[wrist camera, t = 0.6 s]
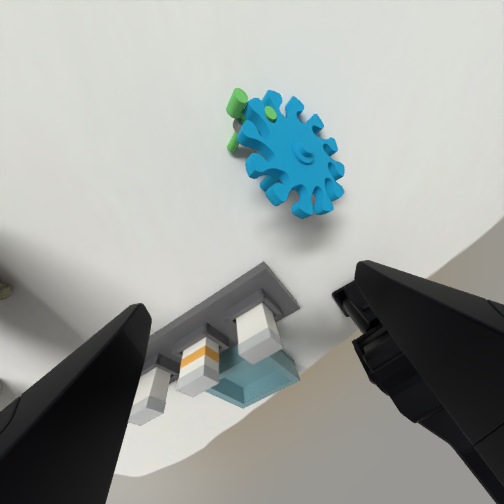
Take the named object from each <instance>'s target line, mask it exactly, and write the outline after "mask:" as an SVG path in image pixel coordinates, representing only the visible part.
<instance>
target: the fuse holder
mask: <svg viewBox="0 0 504 504" xmlns="http://www.w3.org/2000/svg"><path fill="white" fill-rule="evenodd" d="M262 302H264V303H265V304H266V305H267V306H268V307H269V308H270V309H271V310H272V312H273V317H274V320H275V322H277V321H279V320H281V319H282V318H284V317H286V316H287V315H289V314H291V313H293V312H294V311H296V310H298V309H300V307H299V305H298V303H297V301H296V300H295V299H294V297H293V296H292V295H291V294H290V293H289V291H288V290H287V289H286V288H285V287H284V285H283V284H282V283H281V282H280V280H279V279H278V278H277V277H276V276H275V274H274V273H273V272H272V271H271V270H270V268H269V267H268V266H267V265H266V264H265V262H262V263H261V264H259V265H258V266H256V267H255V268H253V269H252V270H250V271H249V272H247V273H245V274H244V275H242V276H241V277H239V278H238V279H236V280H235V281H233V282H232V283H230V284H229V285H227V286H226V287H224V288H223V289H221V290H220V291H218V292H217V293H215V294H214V295H212V296H211V297H209V298H207V299H206V300H204V301H203V302H201V303H200V304H198V305H197V306H195V307H194V308H192V309H191V310H189V311H188V312H186V313H185V314H183V315H182V316H180V317H179V318H177V319H176V320H174V321H173V322H171V323H169V324H168V325H166V326H165V327H163V328H162V329H160V330H159V331H157V332H156V333H154V334H153V335H151V336H150V337H149V341H148V347H147V353H146V358H145V362H144V366H143V370H142V373H141V376H142V375H144V374H145V373H147V372H149V371H150V370H152V369H154V368H155V367H157V368H159V369H162V370H164V371H166V372H168V373H170V374H171V377H170V382H169V384H170V383H172V382H173V381H175V380H177V379H179V374H180V366H181V360H182V356H183V350H185V349H186V348H188V347H190V346H191V345H193V344H195V343H196V342H198V341H199V340H201V339H203V338H204V337H208V338H209V339H211V340H212V341H214V342H215V343H217V344H218V345H219V355H220V354H222V353H223V352H225V351H227V350H229V349H230V348H232V347H234V346H236V345H237V344H238V334H237V323H236V319H235V318H237V317H239V316H240V315H242V314H244V313H245V312H247V311H249V310H250V309H252V308H253V307H255V306H257V305H258V304H260V303H262Z"/></svg>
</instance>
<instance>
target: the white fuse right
mask: <svg viewBox="0 0 504 504" xmlns="http://www.w3.org/2000/svg"><path fill="white" fill-rule="evenodd" d="M235 319H236V323H237V334H238V352H239V356H241V357H242V358H244V359H245V360H247V361H248V362H250V363H251V364H255V363H257V362H259V361H261V360H263V359H264V358H266V357H268V356H270V355H272V354H274V353H275V352H277V351H279V350H281V349H283V348H284V347H283V344H282V341H281V338H280V336H279V333H278V330H277V327H276V323H275V320H274V317H273V312H272V310H271V309H270V308H269V307H268V306H267V305H266V304H265V303H264V302H262V303H260V304H258V305H257V306H255V307H253V308H252V309H250V310H249V311H247V312H245V313H244V314H242V315H240V316H239V317H237V318H235Z"/></svg>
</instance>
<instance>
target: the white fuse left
mask: <svg viewBox="0 0 504 504" xmlns="http://www.w3.org/2000/svg"><path fill="white" fill-rule="evenodd" d="M170 377H171V374H170V373H168V372H166V371H164V370H162V369H159V368H157V367H155V368H154V369H152V370H150V371H149V372H147V373H145V374H144V375H142V376H141V377H140V381H139V384H138V388H137V391H136V395H135V399H134V402H133V406H132V409H131V413H130V417H129V420H128V423H132V424H136V425H139V426H141V425H143V424H145V423H147V422H149V421H150V420H152V419H154V418H156V417H158V416H160V415H161V414H163V413H164V408H165V404H166V402H165V401H166V396H167V391H168V386H169V382H170Z"/></svg>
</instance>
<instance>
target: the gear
mask: <svg viewBox="0 0 504 504" xmlns="http://www.w3.org/2000/svg"><path fill="white" fill-rule="evenodd" d="M247 102H248V103H247ZM246 103H247V105H246ZM281 104H282V97H281V95H280V94H279V93H277V92H275V91H271V90H268V91H267V93H266V95H265V96H264V98H263V100H262V101H261V100H260V99H259V98H253V99H251V100H250V101H248V97H247V95H246V93H245V92H244V91H243V90H242V89H239V88H235V89H234V91H233V94H232V96H231V98H230V101H229V103H228V105H227V108H226V110H227V113H228V114H229V115H230V116H231V117H232V118H235V120H234V122H233V128H234V130H235V133H234V135H233V136H232V138H231V140H230V142H229V144H228V146H227V149H228V150H229V151H230V152H234V151H235V149H236V148H237V146H238V145H239V143H240V144H241V145H243V146H245V147H250V148H253V149H254V150H255V151H256V152H257V153H252V154H251V155H250V156H249V158H248V159H247V160H246V164H245V165H246V170H247V173H248V176H249V177H250V178H253V179H256V178H258V177H260V176H262V175H268V176H267V177H266V178H265V179H264V180H263V181H262V182H261V183H260V187H261V189H262V190H263V191H266V193H265V194H266V196H267V198H268V199H269V200H270V202H271V203H272V204H273V205H274V206H278V205H280V204H281V203H283V202H284V201H286V200H287V198H288V194H289V192H290V190H296V191H297V192H298V193H299V196H300V200H299V201H298V202H296V203H295V204H293V206H292V213H293V214H294V215H296V216H298V217H299V218H302V219H304V218H306V217H308V216H310V215H312V213H313V209H314V212H315V214H317V215H323V214H326V213H328V212H330V211H332V210H333V204H332V201H334V200H336V199H338V198H340V197H341V196H342V195H343V194H344V189H343V188H342V186H341V185H339V184H338V183H337V182H336V180H338V179H340V178H341V177H343V176H344V165H343V164H342V163H340V162H336V161H334V160H333V159H331V158H330V156H331V155H333V154H334V153H335V152H337V151H338V148H337V144H336V142H335V139H333V138H329V139H322V138H320V137H318V136H316V134H317V133H318V132H319V131H320V130H321V129H322V128H323V127H324V125H323V123H322V121H321V119H320V118H319V116H318V115H317V114H314V115H313V116H312V117H311V118H310V119H309V120H308V121H307V123H302V122H300V121H299V119H298V118H297V117H298V116H299V115H300V113H301V112H302V111H303V110H304V105H303V104H302V103H301V102H300V101H299V100H298V99H297V98H296V97H294V96H293V97H292V98H291V99H290V101H289V102H288V103H287V105H286V106H285V111H286V117H284V116H283V115H282V114H281V112H280V110H279V107H280V105H281ZM245 105H246V106H245ZM244 107H245V108H244ZM279 180H281V182H282V184H281V183H277V182H278V181H279ZM312 193H313V194H314V195H315V198H316V200H315V203H314V206H312Z"/></svg>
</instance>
